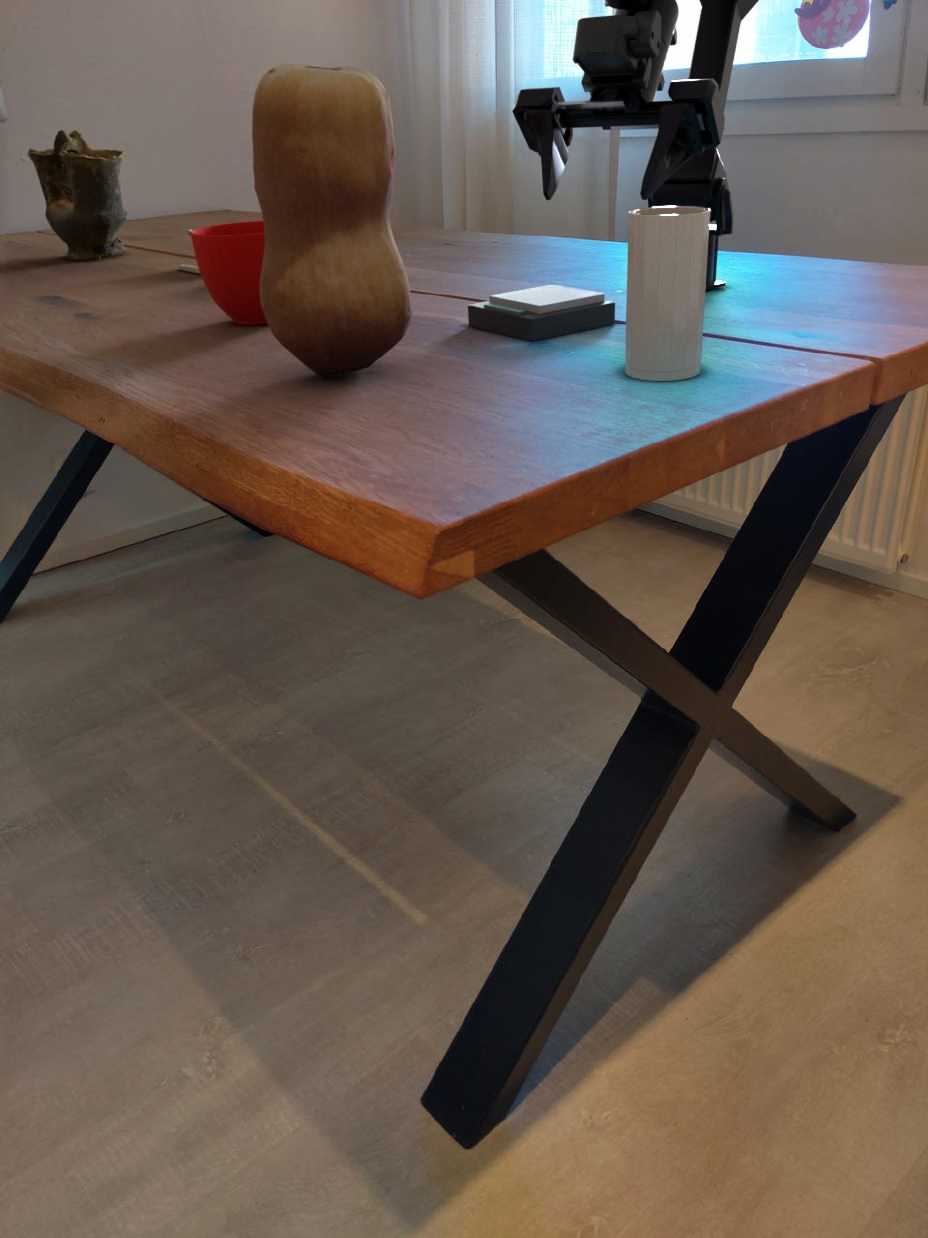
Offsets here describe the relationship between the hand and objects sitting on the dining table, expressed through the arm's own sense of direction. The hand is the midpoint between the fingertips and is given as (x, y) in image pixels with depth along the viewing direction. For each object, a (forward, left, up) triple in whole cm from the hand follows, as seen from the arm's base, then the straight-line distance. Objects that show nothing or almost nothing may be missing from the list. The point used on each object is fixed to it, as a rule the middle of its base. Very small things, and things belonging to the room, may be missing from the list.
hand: (593, 196), depth 90 cm
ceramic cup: (+17, -41, -14) cm, 46 cm away
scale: (-3, -12, -13) cm, 18 cm away
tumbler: (+2, +11, -13) cm, 18 cm away
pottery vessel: (+13, -115, -14) cm, 117 cm away
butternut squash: (+22, -10, -14) cm, 28 cm away
